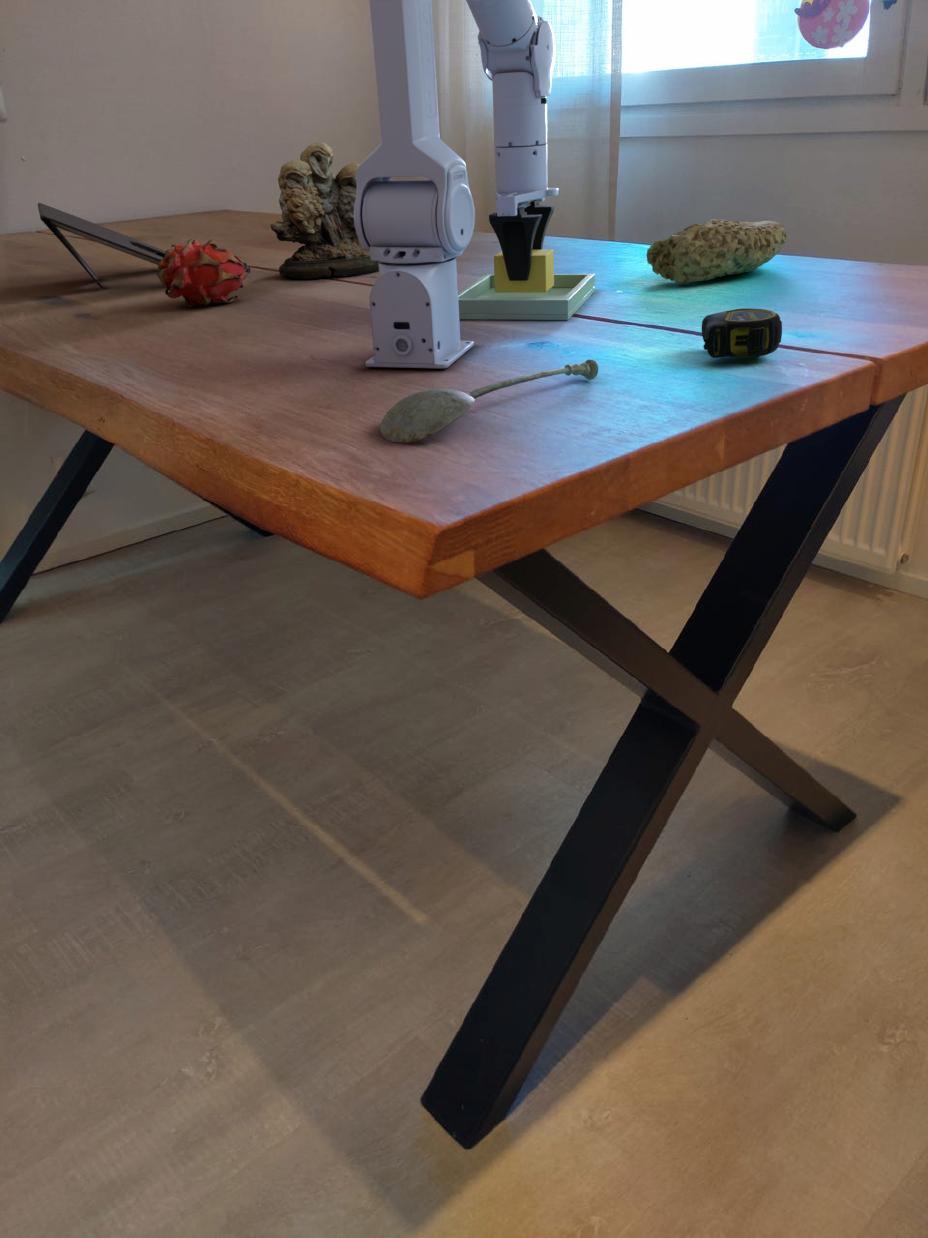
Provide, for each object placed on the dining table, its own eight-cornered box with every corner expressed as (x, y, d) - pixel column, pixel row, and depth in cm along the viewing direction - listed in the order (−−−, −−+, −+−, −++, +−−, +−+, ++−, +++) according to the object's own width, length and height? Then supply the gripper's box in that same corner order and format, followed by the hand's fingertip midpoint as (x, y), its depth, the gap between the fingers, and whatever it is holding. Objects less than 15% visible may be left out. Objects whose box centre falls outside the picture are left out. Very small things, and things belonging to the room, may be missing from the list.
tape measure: (699, 348, 94) (701, 307, 92) (775, 347, 93) (779, 305, 91) (701, 366, 88) (704, 322, 86) (783, 365, 87) (787, 321, 85)
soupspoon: (363, 440, 76) (417, 463, 72) (358, 397, 74) (414, 417, 70) (565, 370, 88) (622, 386, 84) (565, 332, 86) (624, 346, 82)
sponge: (693, 301, 119) (827, 247, 124) (678, 234, 117) (815, 181, 121) (637, 305, 131) (761, 255, 136) (622, 244, 129) (749, 196, 133)
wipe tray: (568, 320, 108) (568, 299, 107) (447, 319, 112) (446, 299, 111) (594, 291, 122) (594, 273, 121) (486, 291, 126) (485, 273, 125)
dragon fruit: (156, 322, 126) (249, 323, 132) (168, 288, 119) (266, 290, 124) (145, 260, 128) (238, 264, 133) (156, 222, 120) (254, 227, 126)
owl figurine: (296, 284, 137) (279, 146, 130) (260, 275, 146) (242, 146, 138) (408, 267, 146) (398, 137, 138) (367, 259, 155) (356, 136, 147)
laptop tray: (198, 328, 143) (218, 265, 141) (27, 268, 132) (44, 198, 130) (177, 303, 162) (194, 247, 160) (26, 249, 151) (41, 187, 149)
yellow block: (546, 292, 113) (545, 255, 111) (494, 292, 115) (493, 255, 113) (554, 285, 117) (553, 249, 115) (504, 285, 119) (503, 249, 117)
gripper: (542, 148, 102) (544, 287, 108) (570, 139, 114) (570, 265, 120) (475, 151, 104) (481, 287, 110) (509, 142, 116) (512, 265, 122)
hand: (523, 276), depth 115 cm, fingers closed on yellow block, 4 cm apart
